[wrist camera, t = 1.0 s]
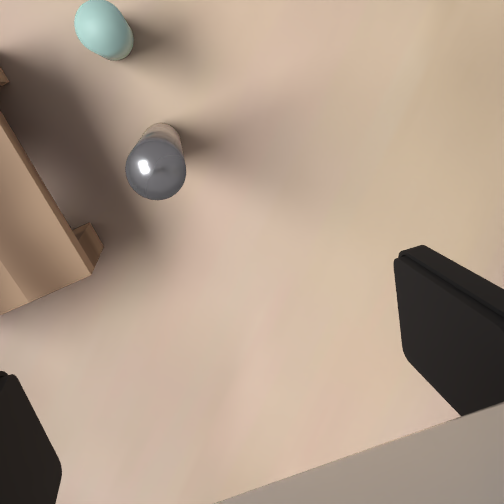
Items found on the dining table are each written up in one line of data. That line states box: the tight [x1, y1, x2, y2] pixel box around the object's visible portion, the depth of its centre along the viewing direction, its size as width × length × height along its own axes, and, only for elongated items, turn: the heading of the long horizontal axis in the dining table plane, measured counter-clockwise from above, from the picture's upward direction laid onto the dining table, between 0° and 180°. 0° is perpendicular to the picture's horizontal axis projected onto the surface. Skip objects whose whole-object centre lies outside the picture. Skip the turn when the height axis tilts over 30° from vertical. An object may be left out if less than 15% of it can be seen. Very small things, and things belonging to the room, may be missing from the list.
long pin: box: [125, 123, 186, 200], centre depth 25 cm, size 3×3×12 cm
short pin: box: [74, 0, 134, 60], centre depth 26 cm, size 3×3×5 cm
